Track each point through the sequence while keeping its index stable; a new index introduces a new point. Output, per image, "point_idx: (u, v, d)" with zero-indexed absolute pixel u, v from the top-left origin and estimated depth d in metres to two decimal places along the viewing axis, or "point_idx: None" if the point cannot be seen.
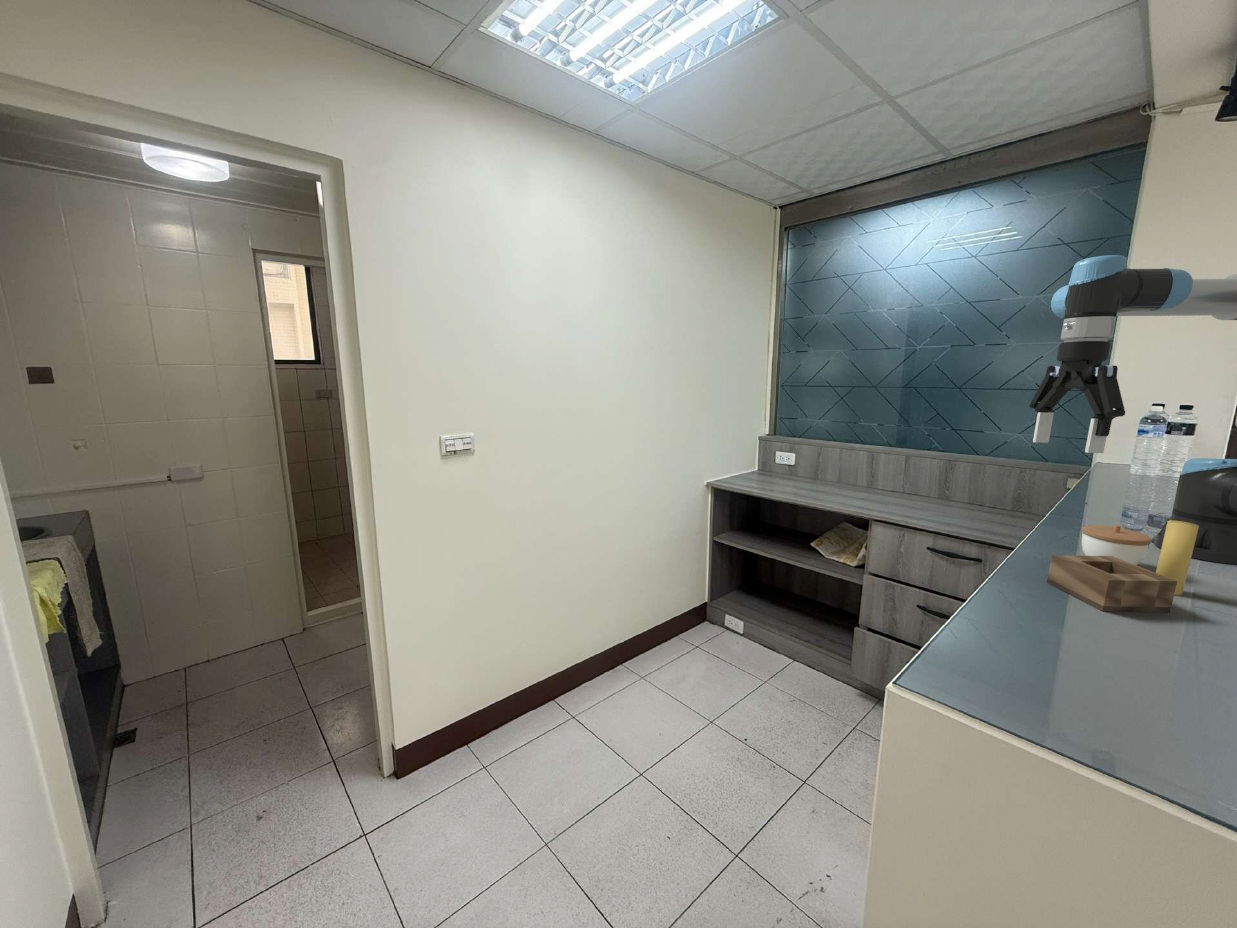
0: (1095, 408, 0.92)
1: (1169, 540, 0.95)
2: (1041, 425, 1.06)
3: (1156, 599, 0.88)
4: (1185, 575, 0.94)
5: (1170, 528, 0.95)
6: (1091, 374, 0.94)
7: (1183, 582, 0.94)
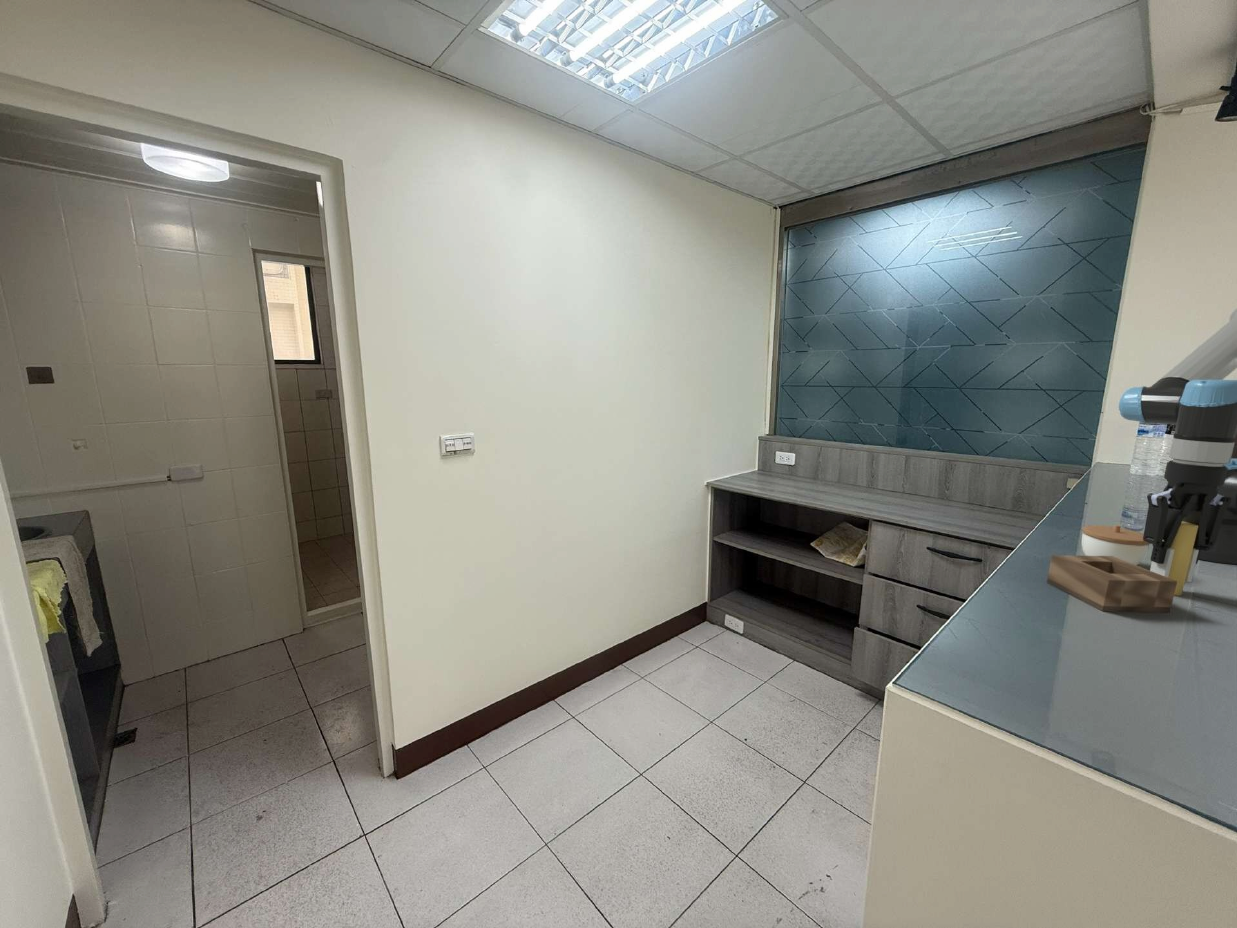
0: None
1: None
2: None
3: (1156, 599, 0.88)
4: (1185, 574, 0.94)
5: None
6: None
7: (1182, 582, 0.94)
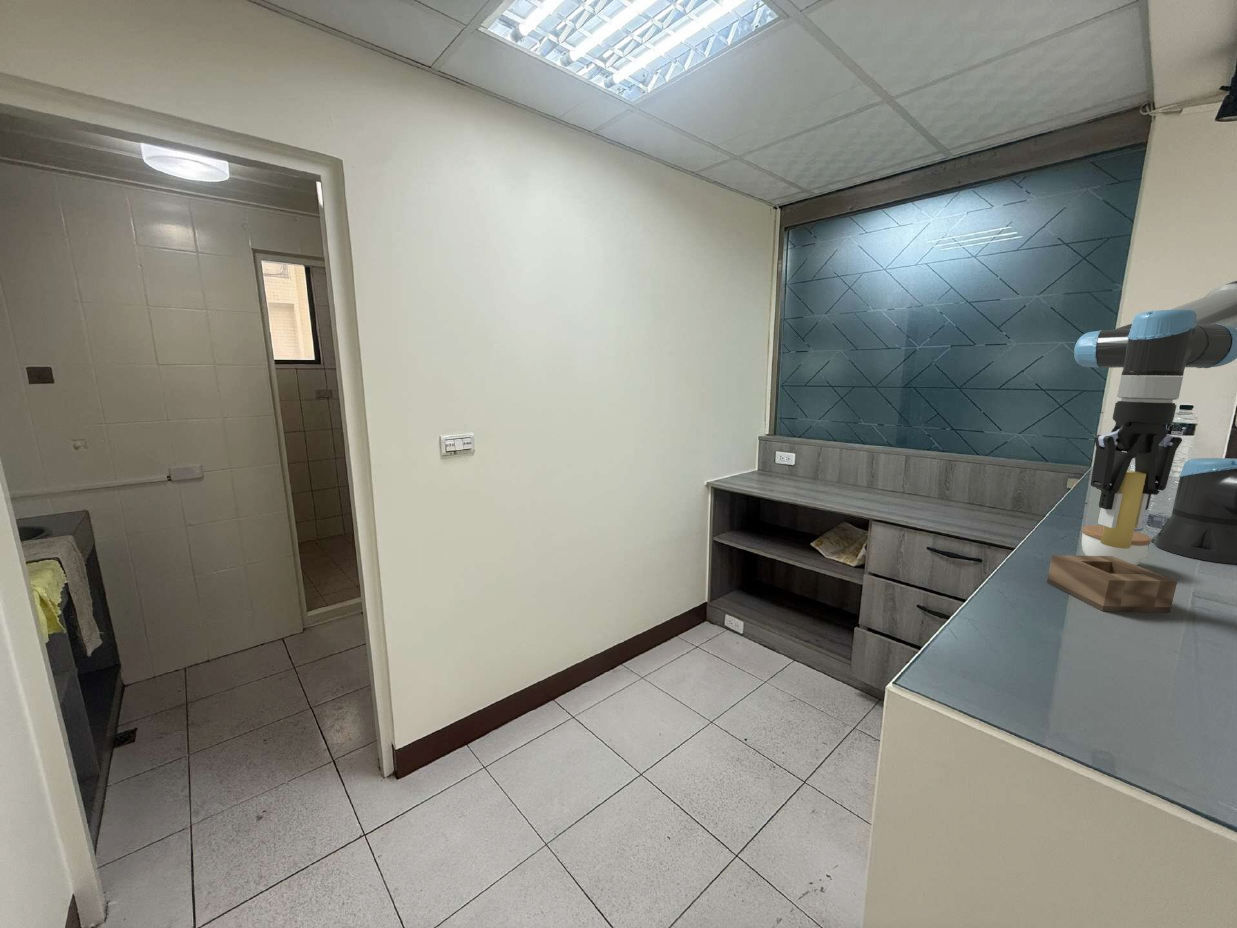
0: None
1: None
2: None
3: (1156, 599, 0.88)
4: (1133, 526, 0.90)
5: None
6: None
7: (1131, 534, 0.90)
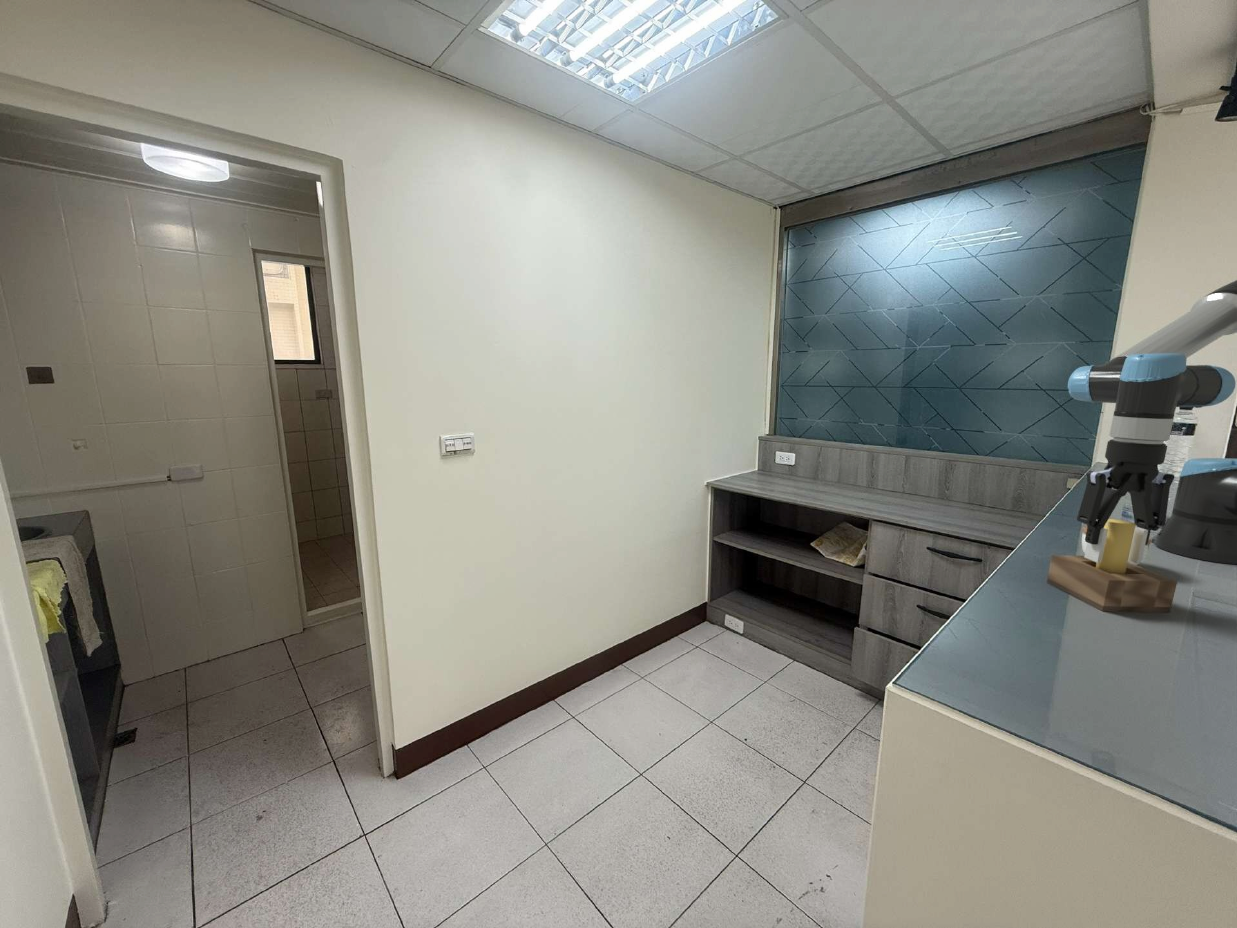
0: None
1: (1107, 539, 0.92)
2: None
3: (1156, 599, 0.88)
4: None
5: (1107, 527, 0.92)
6: None
7: None
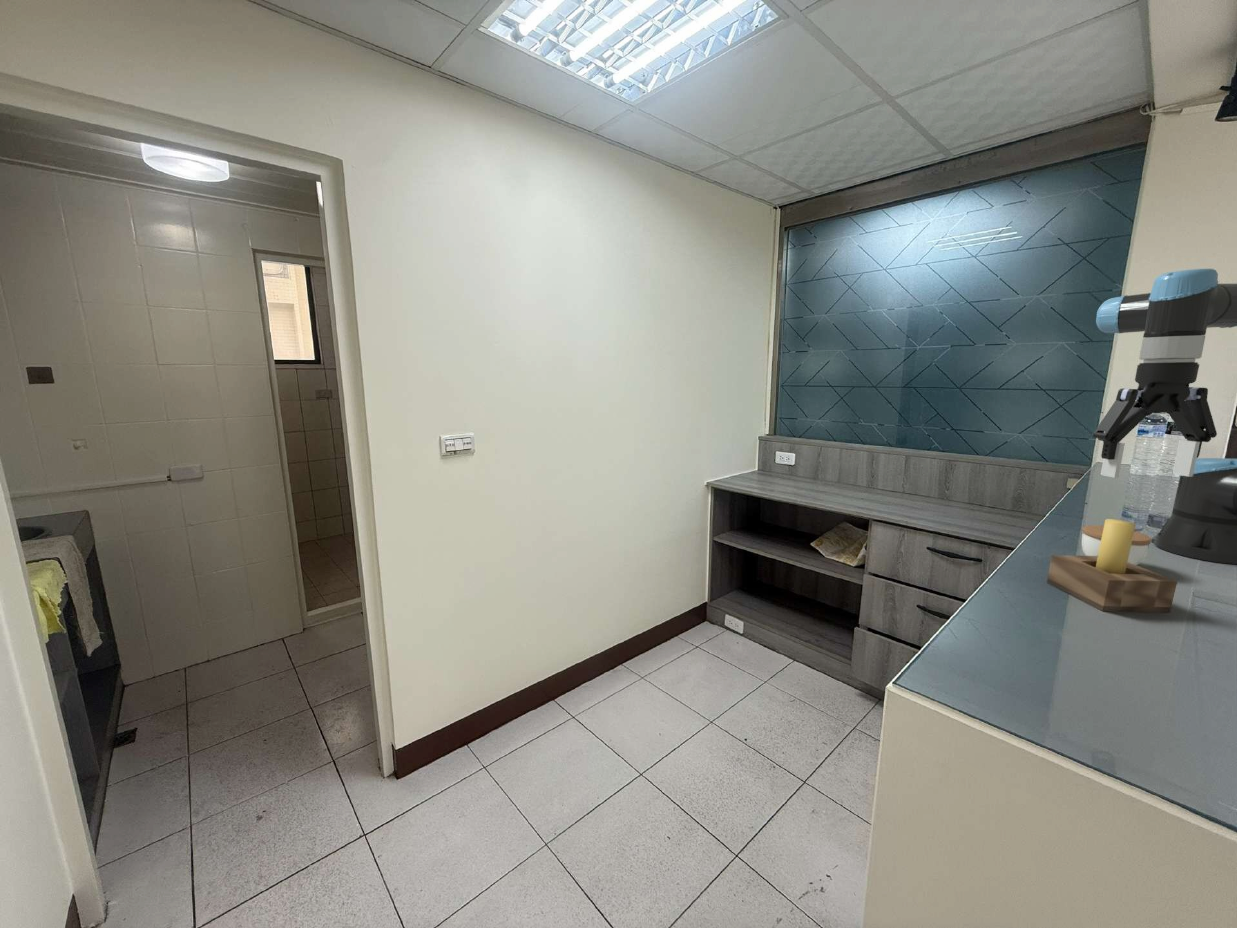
0: None
1: (1106, 539, 0.92)
2: (1180, 454, 0.92)
3: (1156, 599, 0.88)
4: None
5: (1107, 527, 0.92)
6: None
7: None
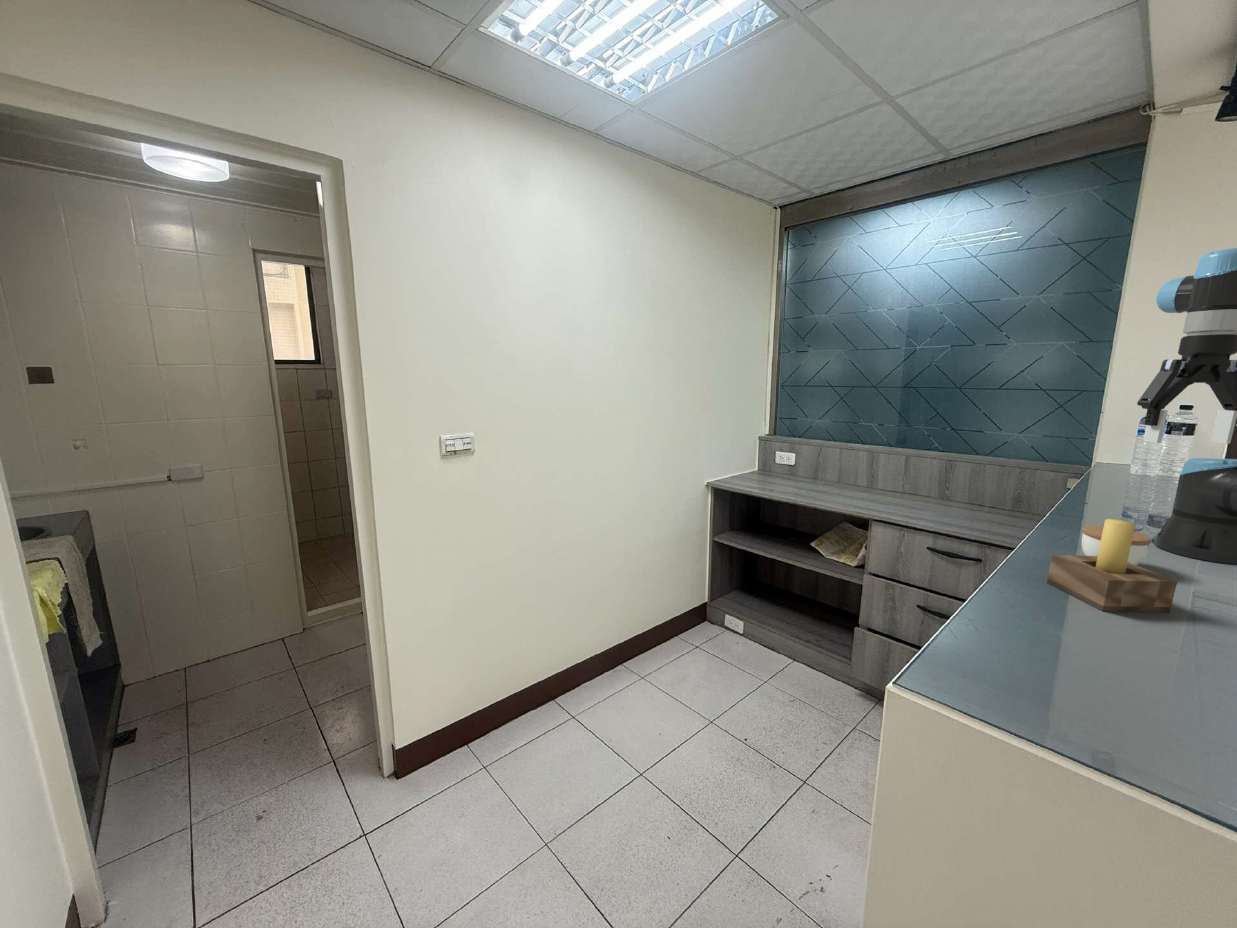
0: None
1: (1106, 539, 0.92)
2: (1219, 423, 0.99)
3: (1156, 599, 0.88)
4: None
5: (1106, 527, 0.92)
6: None
7: None
